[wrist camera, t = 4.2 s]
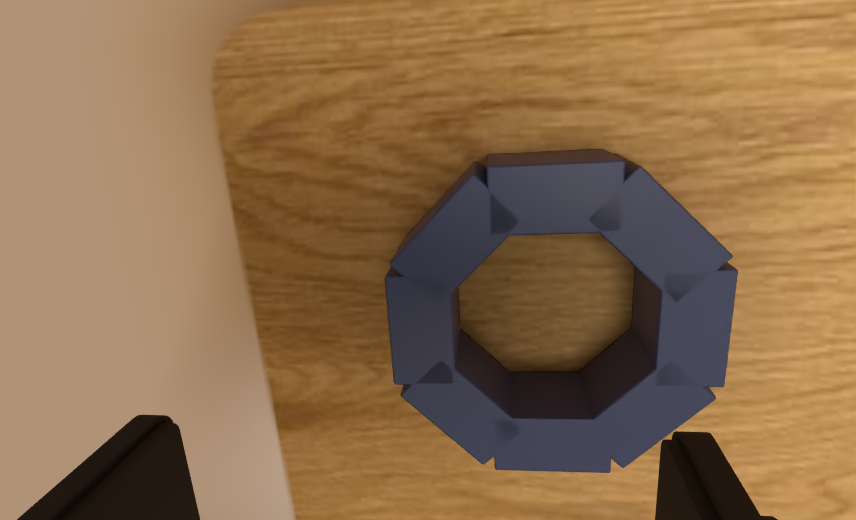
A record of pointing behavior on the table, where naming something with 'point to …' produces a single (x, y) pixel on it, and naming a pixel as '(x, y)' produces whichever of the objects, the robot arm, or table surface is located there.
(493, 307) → the table surface
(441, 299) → the ring
